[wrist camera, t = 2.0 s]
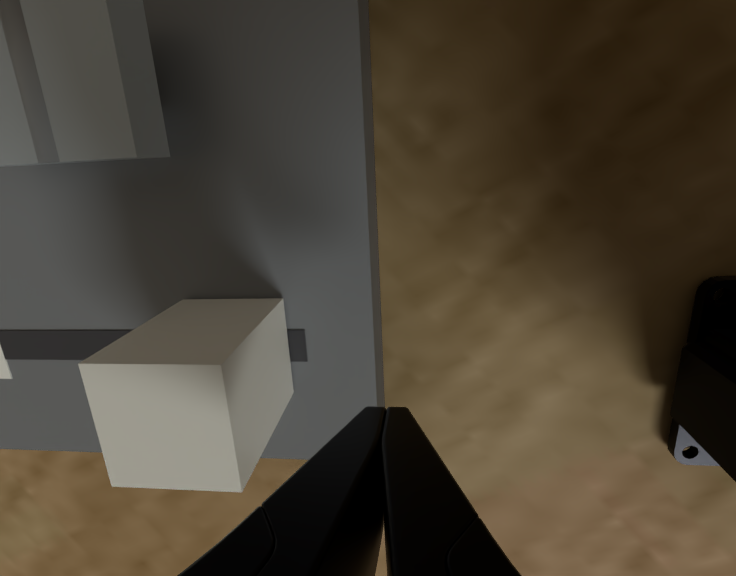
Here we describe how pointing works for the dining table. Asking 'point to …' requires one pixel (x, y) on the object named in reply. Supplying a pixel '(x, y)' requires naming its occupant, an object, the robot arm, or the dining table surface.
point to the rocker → (77, 83)
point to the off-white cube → (191, 394)
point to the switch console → (209, 220)
